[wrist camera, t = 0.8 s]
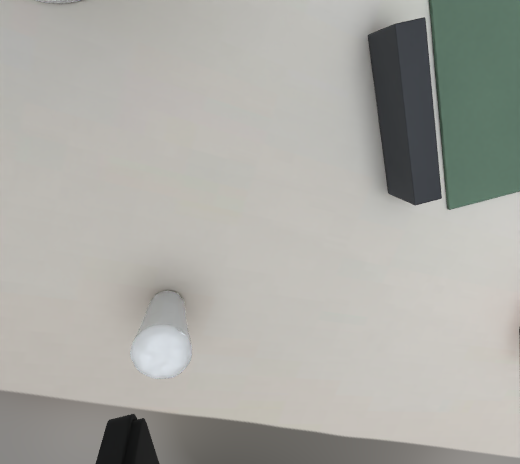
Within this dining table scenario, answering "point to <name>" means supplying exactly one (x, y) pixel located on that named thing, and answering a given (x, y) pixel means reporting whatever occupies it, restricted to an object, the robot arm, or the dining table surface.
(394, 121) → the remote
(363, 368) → the dining table surface
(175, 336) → the milkshake
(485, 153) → the placemat
